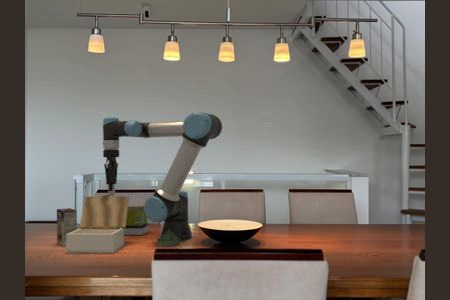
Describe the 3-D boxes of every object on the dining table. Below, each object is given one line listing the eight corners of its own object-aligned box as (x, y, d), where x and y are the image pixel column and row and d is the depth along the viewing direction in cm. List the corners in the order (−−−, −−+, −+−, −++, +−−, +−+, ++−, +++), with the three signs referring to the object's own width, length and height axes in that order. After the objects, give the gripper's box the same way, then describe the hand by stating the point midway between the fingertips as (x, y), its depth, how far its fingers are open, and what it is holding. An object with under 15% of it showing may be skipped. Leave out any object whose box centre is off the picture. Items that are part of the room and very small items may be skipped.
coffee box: (56, 243, 179) (56, 209, 179) (70, 241, 183) (70, 207, 183) (62, 247, 172) (62, 211, 172) (77, 244, 176) (76, 209, 176)
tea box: (148, 231, 204) (147, 204, 205) (142, 235, 194) (141, 206, 195) (120, 231, 206) (120, 204, 206) (113, 235, 196) (113, 206, 196)
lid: (124, 228, 172) (125, 229, 174) (127, 194, 178) (129, 195, 180) (78, 228, 173) (80, 229, 175) (83, 194, 179) (85, 196, 181)
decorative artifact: (156, 243, 178) (158, 248, 168) (156, 228, 178) (158, 232, 169) (177, 241, 181) (181, 246, 171) (177, 226, 181) (181, 230, 171)
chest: (123, 245, 173) (123, 227, 173) (113, 253, 159) (112, 234, 159) (80, 245, 174) (80, 228, 174) (66, 253, 160) (66, 234, 160)
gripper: (108, 149, 194) (109, 196, 193) (98, 149, 180) (98, 199, 180) (123, 149, 193) (123, 196, 193) (114, 148, 180) (114, 199, 180)
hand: (111, 197), depth 186 cm, fingers closed
